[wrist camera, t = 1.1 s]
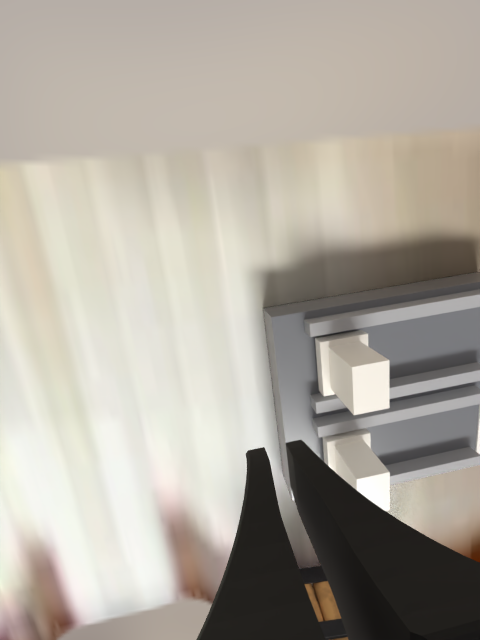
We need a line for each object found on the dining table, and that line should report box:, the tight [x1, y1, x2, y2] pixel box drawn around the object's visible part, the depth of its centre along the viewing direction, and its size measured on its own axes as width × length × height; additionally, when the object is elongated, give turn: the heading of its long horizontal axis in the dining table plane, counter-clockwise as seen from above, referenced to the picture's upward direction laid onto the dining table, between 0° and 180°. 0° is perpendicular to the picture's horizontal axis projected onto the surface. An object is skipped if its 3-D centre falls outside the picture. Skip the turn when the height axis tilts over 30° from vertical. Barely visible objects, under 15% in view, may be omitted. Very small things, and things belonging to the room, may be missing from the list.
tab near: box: [315, 330, 390, 415], centre depth 18 cm, size 3×4×4 cm
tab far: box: [322, 428, 390, 511], centre depth 19 cm, size 3×4×4 cm
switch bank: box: [263, 272, 480, 501], centre depth 22 cm, size 16×14×4 cm
